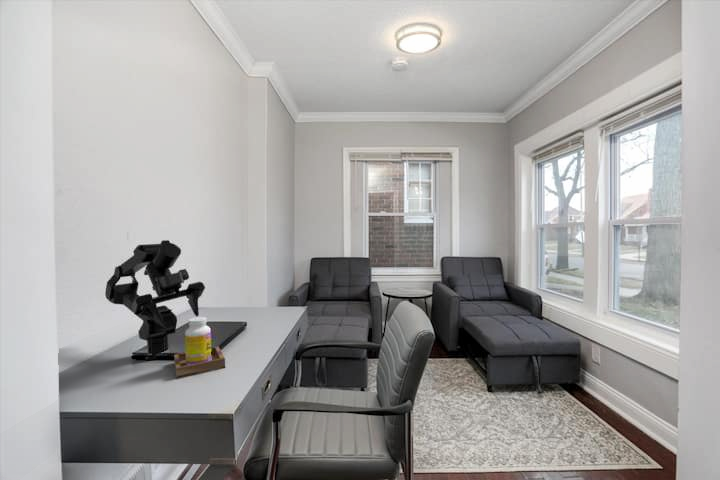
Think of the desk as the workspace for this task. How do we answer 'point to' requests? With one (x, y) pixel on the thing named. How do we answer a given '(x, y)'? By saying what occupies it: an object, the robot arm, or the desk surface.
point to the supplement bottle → (198, 341)
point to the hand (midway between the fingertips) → (181, 320)
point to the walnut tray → (198, 364)
